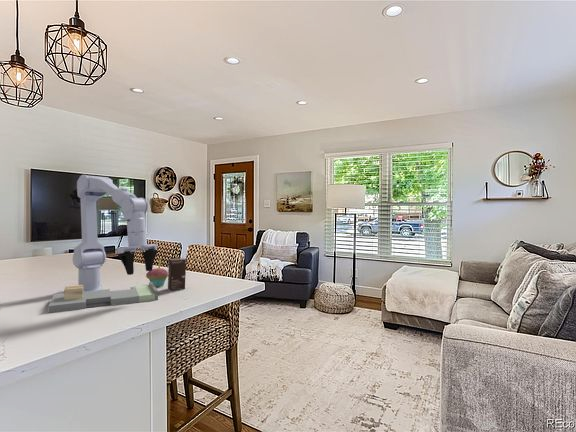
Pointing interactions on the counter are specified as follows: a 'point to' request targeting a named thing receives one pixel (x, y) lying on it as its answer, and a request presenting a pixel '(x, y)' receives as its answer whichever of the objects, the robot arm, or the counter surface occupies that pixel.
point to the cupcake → (157, 276)
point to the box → (176, 273)
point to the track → (104, 298)
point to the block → (73, 292)
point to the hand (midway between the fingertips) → (140, 272)
